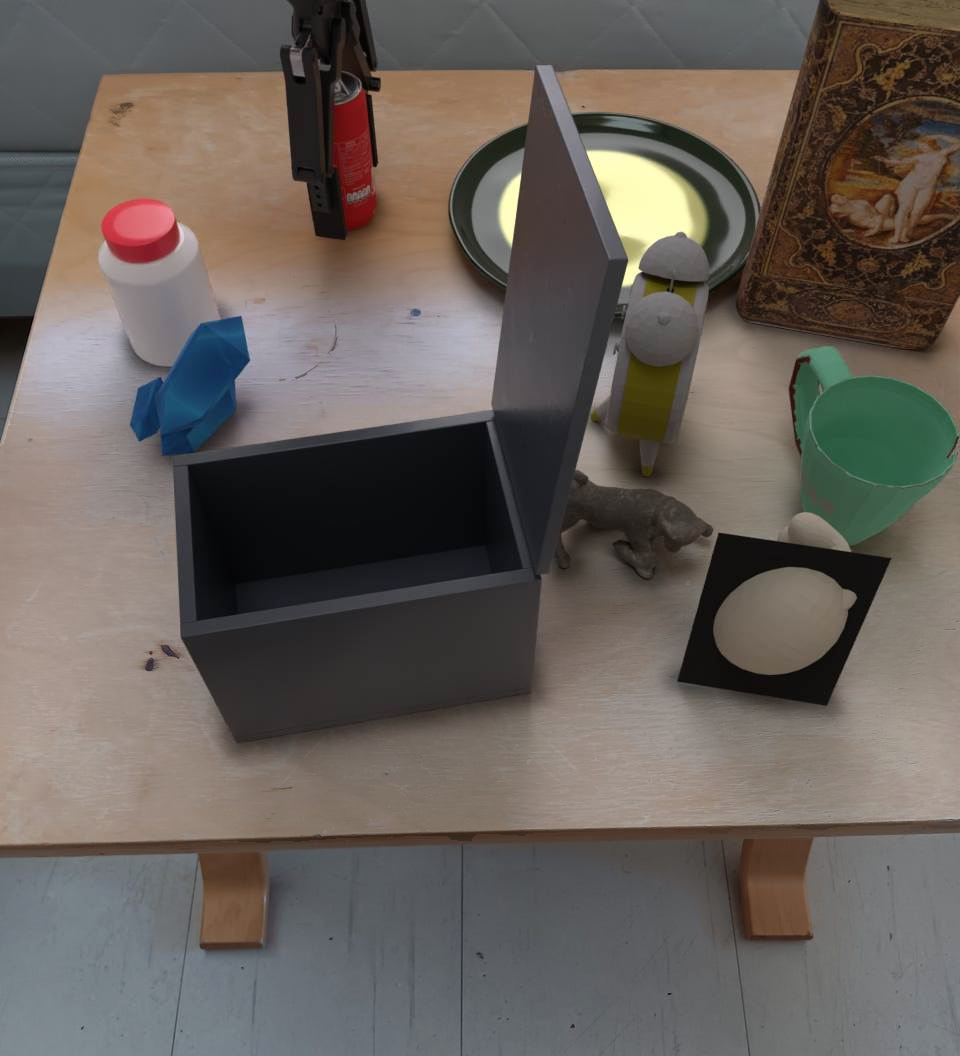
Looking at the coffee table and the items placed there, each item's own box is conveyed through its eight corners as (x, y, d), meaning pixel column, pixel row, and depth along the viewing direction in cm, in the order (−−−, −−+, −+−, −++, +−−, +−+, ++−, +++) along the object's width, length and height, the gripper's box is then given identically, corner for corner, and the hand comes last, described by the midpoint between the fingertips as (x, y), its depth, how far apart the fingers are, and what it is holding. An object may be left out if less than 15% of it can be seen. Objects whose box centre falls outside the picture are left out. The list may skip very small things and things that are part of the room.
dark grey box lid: (608, 260, 37) (629, 259, 37) (535, 64, 43) (552, 64, 43) (535, 575, 54) (549, 574, 54) (490, 403, 61) (503, 402, 61)
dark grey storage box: (236, 743, 65) (180, 637, 53) (224, 582, 71) (172, 455, 59) (531, 692, 67) (542, 579, 55) (494, 540, 73) (497, 408, 61)
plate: (752, 354, 82) (759, 331, 80) (422, 317, 85) (421, 294, 82) (758, 148, 96) (765, 124, 94) (475, 121, 98) (475, 97, 96)
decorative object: (680, 609, 72) (819, 630, 72) (675, 712, 65) (830, 737, 64) (718, 462, 64) (877, 484, 63) (718, 562, 56) (897, 589, 55)
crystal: (86, 401, 71) (177, 271, 74) (139, 459, 79) (219, 341, 82) (170, 439, 69) (259, 305, 72) (215, 495, 77) (294, 373, 80)
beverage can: (328, 237, 90) (307, 110, 79) (316, 201, 92) (295, 74, 82) (383, 226, 91) (370, 99, 80) (370, 191, 93) (356, 63, 83)
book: (732, 319, 84) (818, 12, 63) (739, 277, 87) (825, -32, 65) (929, 354, 82) (1089, 48, 61) (931, 309, 85) (1085, 1, 63)
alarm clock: (664, 489, 75) (703, 339, 62) (576, 473, 76) (596, 322, 63) (684, 380, 81) (723, 221, 68) (602, 366, 82) (625, 206, 69)
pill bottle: (192, 289, 86) (156, 175, 77) (240, 338, 83) (209, 225, 74) (113, 329, 84) (66, 217, 74) (160, 381, 81) (117, 270, 71)
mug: (929, 555, 72) (990, 466, 64) (808, 590, 71) (853, 504, 62) (833, 412, 79) (876, 314, 71) (721, 441, 78) (751, 344, 69)
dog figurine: (534, 562, 72) (539, 499, 66) (552, 501, 75) (559, 434, 68) (698, 599, 70) (719, 538, 64) (710, 536, 73) (732, 471, 67)
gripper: (315, 12, 65) (353, 287, 84) (401, -146, 76) (417, 130, 95) (206, -1, 66) (269, 274, 85) (307, -156, 76) (342, 120, 96)
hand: (347, 198), depth 90 cm, fingers open, 10 cm apart
